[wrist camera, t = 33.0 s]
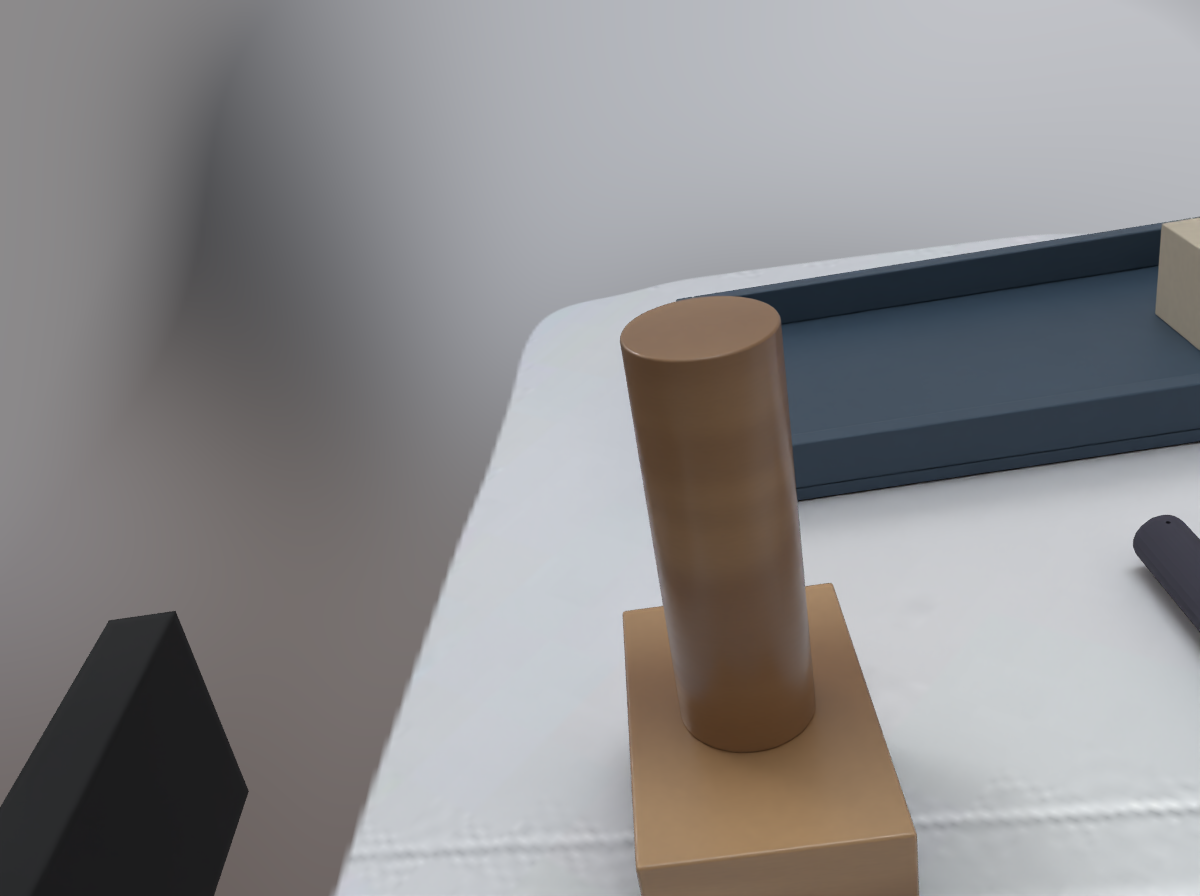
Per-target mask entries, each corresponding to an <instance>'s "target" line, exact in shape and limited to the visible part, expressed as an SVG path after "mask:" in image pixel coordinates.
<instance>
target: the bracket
mask: <svg viewBox="0 0 1200 896" xmlns="http://www.w3.org/2000/svg"><path fill="white" fill-rule="evenodd" d="M1133 548H1134V550H1135V553H1136V554H1137V556H1138V557H1139V558H1140V559H1141V561H1142V562H1143V563H1144V564H1145V565H1146V567H1147V568H1148V569H1149V570H1150V572H1151V573H1152V574H1153V575H1154V576H1155V578H1156V579H1157V580H1158V581H1159V583H1160V584H1161V585H1162V586H1163V587H1164V589H1165V590H1166V591H1167V592H1168V594H1169V595H1170V596H1171V597H1172V598H1173V600H1174V601H1175V602H1176V603H1177V605H1178V606H1179V607H1180V608H1181V610H1182V611H1183V612H1184V613H1185V614H1186V616H1187V617H1188V618H1189V619H1190V621H1191V622H1192V623H1193V624H1194V625H1195V627H1196V628H1197V629H1198V630H1199V632H1200V539H1199V538H1198V537H1197V536H1196V535H1195V534H1194V533H1193V532H1192V531H1191V529H1190V528H1189V527H1188V526H1187V525H1186V524H1185V523H1184V522H1183V521H1182V520H1180V519H1179V518H1177V517H1175V516H1172V515H1162V516H1157V517H1154V518H1152V519H1150V520H1148V521H1147V522H1146V523H1145V524H1143V525H1142V526H1141V527H1140V529H1139V530H1138V531H1137V532H1136V534H1135V537H1134V539H1133Z"/></svg>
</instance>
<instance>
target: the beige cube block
mask: <svg viewBox="0 0 1200 896" xmlns="http://www.w3.org/2000/svg"><path fill="white" fill-rule="evenodd" d="M1155 314H1156V315H1157V316H1158V317H1160V318H1161V319H1162V320H1163V321H1165V322H1166V323H1167V324H1168V325H1169V326H1171V327H1172V328H1173V329H1174V330H1175V331H1177V332H1178V333H1179V334H1180V335H1181V336H1183V337H1184V338H1185V339H1186V340H1188V341H1189V342H1190V343H1191V344H1192V345H1194V346H1195V347H1196V348H1197V349H1198V350H1200V218H1194V219H1187V220H1181V221H1175V222H1168V223H1163V224H1162V228H1161V242H1160V255H1159V269H1158V282H1157V296H1156V310H1155Z"/></svg>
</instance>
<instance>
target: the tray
mask: <svg viewBox="0 0 1200 896" xmlns="http://www.w3.org/2000/svg"><path fill="white" fill-rule="evenodd" d="M1195 218H1200V217H1195ZM1189 219H1191V218H1189ZM1192 219H1194V218H1192ZM1183 220H1187V219H1183ZM1177 221H1181V220H1177ZM1170 222H1175V221H1170ZM1164 223H1168V222H1164ZM1162 224H1163V223H1157V224H1151V225H1145V226H1139V227H1132V228H1126V229H1119V230H1113V231H1107V232H1100V233H1094V234H1088V235H1081V236H1075V237H1069V238H1062V239H1056V240H1050V241H1043V242H1037V243H1031V244H1024V245H1018V246H1012V247H1005V248H999V249H993V250H986V251H980V252H973V253H967V254H961V255H954V256H948V257H942V258H935V259H929V260H923V261H916V262H910V263H904V264H897V265H891V266H885V267H878V268H872V269H866V270H859V271H853V272H847V273H840V274H834V275H828V276H821V277H815V278H809V279H802V280H796V281H790V282H783V283H777V284H771V285H764V286H758V287H752V288H745V289H739V290H733V291H726V292H720V293H714V294H707V295H701V296H695V297H693V298H699V297H710V296H735V297H745V298H750V299H755V300H758V301H762V302H764V303H766V304H769V305H770V306H772V307H773V308H774V309H775V310H776V311H777V312H778V314H779V315H780V318H781V326H782V337H783V348H784V359H785V370H786V381H787V392H788V403H789V414H790V425H791V436H792V447H793V458H794V469H795V480H796V491H797V500H804V499H810V498H817V497H824V496H831V495H838V494H844V493H851V492H858V491H865V490H871V489H878V488H885V487H892V486H899V485H905V484H912V483H919V482H926V481H933V480H939V479H946V478H953V477H960V476H966V475H973V474H980V473H987V472H994V471H1000V470H1007V469H1014V468H1021V467H1028V466H1034V465H1041V464H1048V463H1055V462H1061V461H1068V460H1075V459H1082V458H1089V457H1095V456H1102V455H1109V454H1116V453H1122V452H1129V451H1136V450H1143V449H1150V448H1156V447H1163V446H1170V445H1177V444H1184V443H1190V442H1197V441H1200V350H1198V349H1197V348H1196V347H1195V346H1194V345H1192V344H1191V343H1190V342H1189V341H1188V340H1186V339H1185V338H1184V337H1183V336H1181V335H1180V334H1179V333H1178V332H1177V331H1175V330H1174V329H1173V328H1172V327H1171V326H1169V325H1168V324H1167V323H1166V322H1165V321H1163V320H1162V319H1161V318H1160V317H1158V316H1157V315H1156V314H1155V310H1156V296H1157V282H1158V269H1159V255H1160V242H1161V228H1162ZM686 299H692V297H688V298H682V299H677V300H676V302H677V301H681V300H686Z"/></svg>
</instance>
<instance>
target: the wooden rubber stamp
mask: <svg viewBox="0 0 1200 896" xmlns="http://www.w3.org/2000/svg"><path fill="white" fill-rule="evenodd" d="M620 344H621V350H622V356H623V362H624V369H625V375H626V381H627V387H628V393H629V399H630V405H631V412H632V418H633V424H634V430H635V436H636V442H637V448H638V454H639V461H640V467H641V473H642V479H643V485H644V491H645V497H646V504H647V510H648V516H649V522H650V528H651V534H652V540H653V546H654V553H655V559H656V565H657V571H658V577H659V583H660V589H661V596H662V602H663V606H659V607H652V608H645V609H638V610H630V611H625V612H623V630H624V650H625V669H626V688H627V707H628V726H629V745H630V765H631V784H632V803H633V822H634V841H635V861H636V872H637V877H638V882H639V887H640V892H641V896H919V877H918V852H917V834H916V831H915V828H914V825H913V822H912V819H911V816H910V813H909V810H908V807H907V804H906V801H905V798H904V795H903V792H902V789H901V786H900V783H899V780H898V777H897V774H896V771H895V768H894V765H893V762H892V759H891V756H890V753H889V750H888V747H887V744H886V741H885V738H884V735H883V732H882V729H881V726H880V724H879V721H878V718H877V715H876V712H875V709H874V706H873V703H872V700H871V697H870V694H869V691H868V688H867V685H866V682H865V679H864V676H863V673H862V670H861V667H860V664H859V661H858V658H857V655H856V652H855V649H854V646H853V643H852V640H851V637H850V634H849V631H848V628H847V625H846V622H845V619H844V616H843V613H842V610H841V607H840V604H839V601H838V598H837V595H836V592H835V590H834V587H833V585H832V583H826V584H819V585H811V586H805V579H804V568H803V557H802V546H801V535H800V524H799V513H798V502H797V491H796V480H795V469H794V458H793V447H792V436H791V425H790V414H789V403H788V392H787V381H786V370H785V359H784V348H783V337H782V326H781V318H780V315H779V314H778V312H777V311H776V310H775V309H774V308H773V307H772V306H770V305H769V304H766V303H764V302H762V301H758V300H755V299H750V298H745V297H735V296H710V297H699V298H692V299H686V300H681V301H677V302H673V303H669V304H666V305H663V306H660V307H657V308H654V309H652V310H649V311H647V312H645V313H643V314H641V315H639V316H638V317H636V318H635V319H633V320H632V321H631V322H629V323H628V324H627V325H626V326H625V328H624V329H623V331H622V333H621V336H620Z"/></svg>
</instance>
